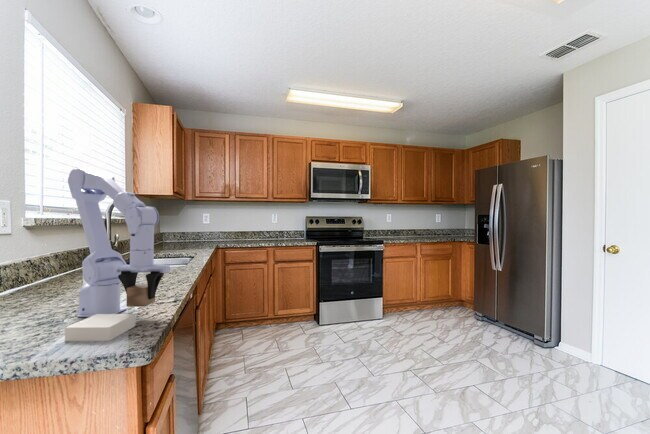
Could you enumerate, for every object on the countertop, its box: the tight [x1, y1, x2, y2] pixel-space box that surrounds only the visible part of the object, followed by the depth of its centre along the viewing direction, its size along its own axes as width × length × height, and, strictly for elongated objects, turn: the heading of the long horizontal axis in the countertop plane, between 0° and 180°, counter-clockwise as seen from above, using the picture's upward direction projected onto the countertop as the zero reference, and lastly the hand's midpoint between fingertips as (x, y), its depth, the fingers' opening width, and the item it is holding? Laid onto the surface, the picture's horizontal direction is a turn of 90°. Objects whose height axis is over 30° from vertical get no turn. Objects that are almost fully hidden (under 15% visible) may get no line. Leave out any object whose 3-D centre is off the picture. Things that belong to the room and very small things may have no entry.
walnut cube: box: [125, 283, 156, 308], centre depth 84 cm, size 5×5×5 cm
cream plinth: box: [64, 313, 136, 342], centre depth 74 cm, size 10×10×4 cm
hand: (141, 298), depth 84 cm, fingers closed on walnut cube, 5 cm apart
